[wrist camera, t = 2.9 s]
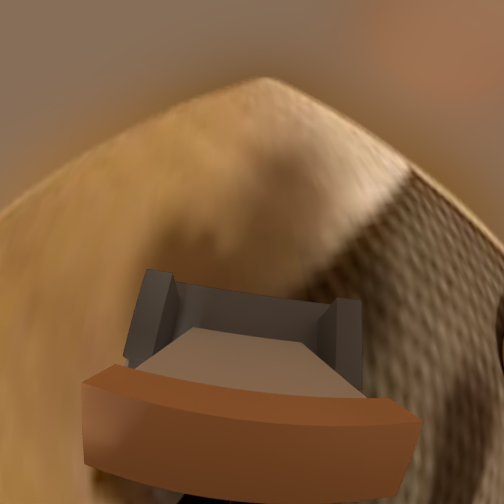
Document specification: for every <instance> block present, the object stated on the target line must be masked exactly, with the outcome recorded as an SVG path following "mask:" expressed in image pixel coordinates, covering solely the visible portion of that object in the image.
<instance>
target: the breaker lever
mask: <svg viewBox="0 0 504 504" xmlns="http://www.w3.org/2000/svg"><path fill="white" fill-rule="evenodd" d="M422 425H423V421H422V420H421V419H419V418H418V417H416V416H415V415H413V414H412V413H410V412H409V411H407V410H406V409H404V408H403V407H401V406H400V405H398V404H397V403H396V402H394V401H393V400H391V399H390V398H367V397H365V396H364V395H363V394H362V393H360V392H359V391H358V390H357V389H356V388H354V387H353V386H352V385H351V384H350V383H348V382H347V381H346V380H345V379H344V378H342V377H341V376H340V375H339V374H338V373H336V372H335V371H334V370H333V369H332V368H331V367H329V366H328V365H327V364H326V363H325V362H324V361H322V360H321V359H320V358H319V357H318V356H316V355H315V354H314V353H313V352H312V351H311V350H309V349H308V348H307V347H306V346H305V345H304V344H303V343H301V342H294V341H285V340H277V339H269V338H261V337H254V336H246V335H240V334H233V333H226V332H220V331H214V330H208V329H202V328H196V327H192V328H191V329H190V330H188V331H187V332H185V333H184V334H183V335H181V336H180V337H178V338H177V339H176V340H174V341H173V342H172V343H170V344H169V345H167V346H166V347H165V348H163V349H162V350H160V351H159V352H158V353H156V354H155V355H153V356H152V357H151V358H149V359H148V360H146V361H145V362H144V363H142V364H141V365H139V366H138V367H136V368H135V369H132V368H129V367H125V366H121V365H117V364H115V365H113V366H111V367H109V368H107V369H106V370H104V371H102V372H100V373H98V374H97V375H95V376H93V377H91V378H89V379H87V380H86V381H84V382H82V435H83V451H84V463H85V464H86V465H88V466H91V467H94V468H96V469H99V470H102V471H105V472H107V473H110V474H113V475H116V476H119V477H122V478H126V479H129V480H132V481H136V482H139V483H143V484H146V485H150V486H154V487H158V488H162V489H166V490H171V491H175V492H180V493H185V494H190V495H196V496H202V497H208V498H214V499H222V500H230V501H239V502H250V503H265V504H329V503H343V502H354V501H363V500H371V499H378V498H385V497H391V496H396V494H397V492H398V490H399V488H400V485H401V483H402V481H403V478H404V476H405V473H406V471H407V468H408V465H409V463H410V460H411V457H412V455H413V452H414V449H415V446H416V443H417V440H418V437H419V434H420V431H421V428H422Z"/></svg>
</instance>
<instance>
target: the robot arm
mask: <svg viewBox="0 0 504 504" xmlns="http://www.w3.org/2000/svg"><path fill="white" fill-rule="evenodd" d="M177 504H230V500H222V499H214V498H208V497H202V496H196V495H190V494H185V493H184V495H183V496H182V497H181V498H180V500H179V501H178V502H177ZM231 504H265V503H250V502H239V501H231Z"/></svg>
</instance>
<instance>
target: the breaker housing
mask: <svg viewBox="0 0 504 504" xmlns="http://www.w3.org/2000/svg"><path fill="white" fill-rule="evenodd" d="M192 327H196V328H202V329H208V330H214V331H220V332H226V333H233V334H240V335H246V336H254V337H261V338H269V339H277V340H285V341H294V342H301V343H303V344H304V345H305V346H306V347H307V348H308V349H309V350H311V351H312V352H313V353H314V354H315V355H316V356H318V357H319V358H320V359H321V360H322V361H324V362H325V363H326V364H327V365H328V366H329V367H331V368H332V369H333V370H334V371H335V372H336V373H338V374H339V375H340V376H341V377H342V378H344V379H345V380H346V381H347V382H348V383H350V384H351V385H352V386H353V387H354V388H356V389H357V390H359V389H362V300H355V299H347V298H339V297H337V298H336V299H335V300H334V301H333V303H332V304H324V303H316V302H308V301H300V300H292V299H285V298H278V297H270V296H263V295H256V294H250V293H243V292H236V291H230V290H223V289H217V288H211V287H204V286H198V285H192V284H186V283H180V282H175V280H174V276H173V273H169V272H163V271H157V270H152V269H147V270H146V273H145V276H144V280H143V283H142V286H141V290H140V293H139V296H138V300H137V303H136V307H135V310H134V314H133V318H132V321H131V325H130V329H129V333H128V336H127V340H126V344H125V348H124V353H123V357H125V358H126V359H127V361H126V366H125V367H129V368H132V369H135V368H136V367H138V366H139V365H141V364H142V363H144V362H145V361H146V360H148V359H149V358H151V357H152V356H153V355H155V354H156V353H158V352H159V351H160V350H162V349H163V348H165V347H166V346H167V345H169V344H170V343H172V342H173V341H174V340H176V339H177V338H178V337H180V336H181V335H183V334H184V333H185V332H187V331H188V330H190V329H191V328H192Z"/></svg>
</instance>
